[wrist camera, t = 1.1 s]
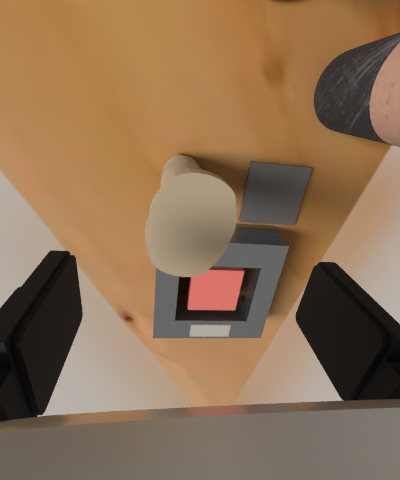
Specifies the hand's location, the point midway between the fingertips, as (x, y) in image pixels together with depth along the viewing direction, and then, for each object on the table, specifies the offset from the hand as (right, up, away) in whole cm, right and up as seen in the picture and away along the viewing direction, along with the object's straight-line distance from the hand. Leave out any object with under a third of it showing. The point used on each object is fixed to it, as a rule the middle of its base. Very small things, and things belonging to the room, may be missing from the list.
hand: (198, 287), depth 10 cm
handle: (-2, +10, +18) cm, 20 cm away
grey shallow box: (+1, -2, +24) cm, 24 cm away
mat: (+9, +7, +20) cm, 23 cm away
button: (+2, -4, +21) cm, 22 cm away
